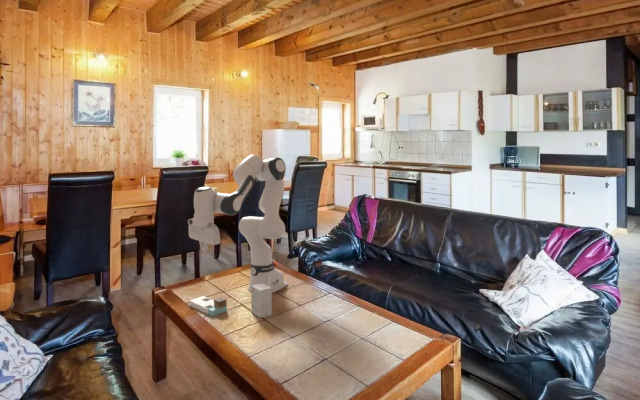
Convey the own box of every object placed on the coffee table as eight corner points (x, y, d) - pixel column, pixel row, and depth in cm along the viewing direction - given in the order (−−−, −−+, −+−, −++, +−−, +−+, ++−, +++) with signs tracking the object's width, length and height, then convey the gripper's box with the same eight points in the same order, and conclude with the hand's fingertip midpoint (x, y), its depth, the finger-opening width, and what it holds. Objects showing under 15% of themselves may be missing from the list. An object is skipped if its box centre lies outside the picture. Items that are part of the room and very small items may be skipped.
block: (221, 303, 194) (221, 297, 193) (226, 306, 191) (226, 299, 191) (214, 306, 191) (213, 299, 190) (219, 308, 188) (219, 301, 188)
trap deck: (203, 300, 203) (203, 295, 203) (226, 310, 192) (226, 305, 191) (189, 305, 197) (189, 300, 197) (212, 316, 186) (212, 311, 185)
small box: (272, 314, 189) (272, 287, 187) (260, 318, 185) (260, 290, 183) (262, 309, 195) (262, 282, 193) (250, 312, 191) (250, 285, 189)
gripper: (223, 224, 188) (223, 253, 190) (197, 217, 201) (197, 245, 203) (211, 226, 183) (212, 256, 185) (185, 219, 196) (186, 247, 198)
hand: (204, 250), depth 194 cm, fingers closed
